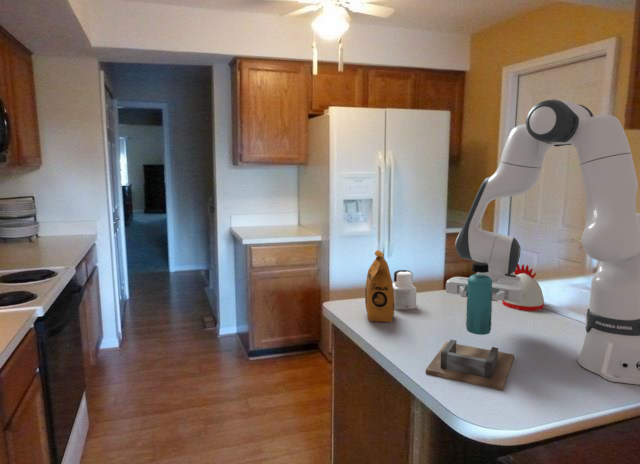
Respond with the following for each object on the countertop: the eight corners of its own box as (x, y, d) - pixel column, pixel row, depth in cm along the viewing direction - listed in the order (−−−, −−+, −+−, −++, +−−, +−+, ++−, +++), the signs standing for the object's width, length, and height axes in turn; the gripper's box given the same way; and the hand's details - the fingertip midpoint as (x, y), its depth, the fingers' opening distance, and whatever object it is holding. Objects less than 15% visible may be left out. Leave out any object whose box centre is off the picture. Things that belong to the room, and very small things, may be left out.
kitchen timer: (512, 297, 179) (515, 259, 176) (549, 305, 169) (552, 264, 166) (495, 304, 169) (497, 264, 167) (533, 313, 159) (536, 271, 157)
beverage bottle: (492, 341, 121) (496, 266, 118) (466, 339, 122) (469, 265, 119) (488, 332, 127) (492, 260, 124) (463, 330, 128) (466, 260, 125)
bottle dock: (513, 358, 124) (514, 340, 123) (502, 390, 106) (503, 369, 106) (445, 345, 132) (446, 328, 132) (425, 373, 115) (426, 354, 114)
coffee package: (363, 322, 152) (364, 256, 148) (365, 310, 164) (365, 249, 160) (394, 323, 150) (395, 257, 147) (393, 311, 162) (394, 249, 159)
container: (389, 303, 172) (390, 268, 170) (409, 302, 173) (410, 268, 171) (395, 309, 164) (395, 274, 162) (416, 308, 165) (417, 273, 163)
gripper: (452, 269, 139) (439, 280, 127) (526, 277, 129) (520, 289, 117) (451, 290, 139) (439, 302, 128) (525, 299, 130) (519, 313, 118)
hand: (478, 296), depth 122 cm, fingers closed on beverage bottle, 6 cm apart
